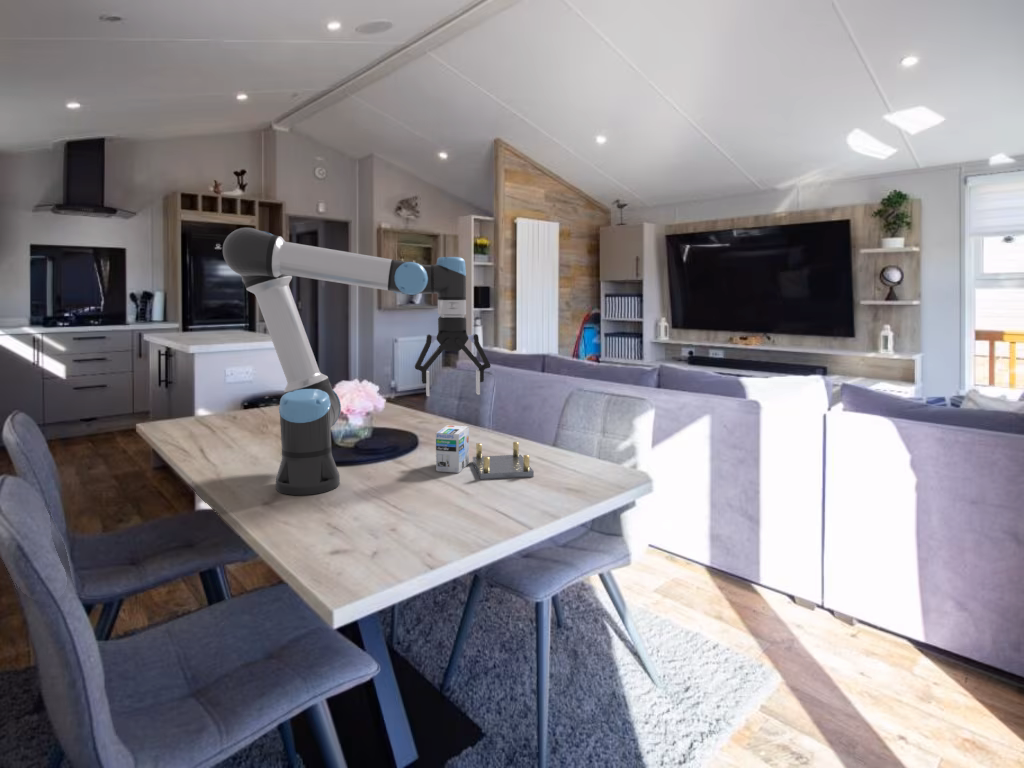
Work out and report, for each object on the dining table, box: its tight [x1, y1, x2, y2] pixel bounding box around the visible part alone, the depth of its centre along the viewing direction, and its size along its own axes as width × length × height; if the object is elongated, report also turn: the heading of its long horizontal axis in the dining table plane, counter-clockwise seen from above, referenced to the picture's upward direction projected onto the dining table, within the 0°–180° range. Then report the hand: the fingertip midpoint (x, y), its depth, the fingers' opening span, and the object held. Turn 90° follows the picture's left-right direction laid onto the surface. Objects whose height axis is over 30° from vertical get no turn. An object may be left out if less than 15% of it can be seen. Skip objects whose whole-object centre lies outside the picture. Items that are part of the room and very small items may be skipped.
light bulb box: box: [435, 424, 470, 474], centre depth 174 cm, size 11×7×11 cm, turn 168°
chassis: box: [472, 441, 534, 480], centre depth 173 cm, size 14×17×6 cm
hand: (453, 394), depth 172 cm, fingers open, 13 cm apart
